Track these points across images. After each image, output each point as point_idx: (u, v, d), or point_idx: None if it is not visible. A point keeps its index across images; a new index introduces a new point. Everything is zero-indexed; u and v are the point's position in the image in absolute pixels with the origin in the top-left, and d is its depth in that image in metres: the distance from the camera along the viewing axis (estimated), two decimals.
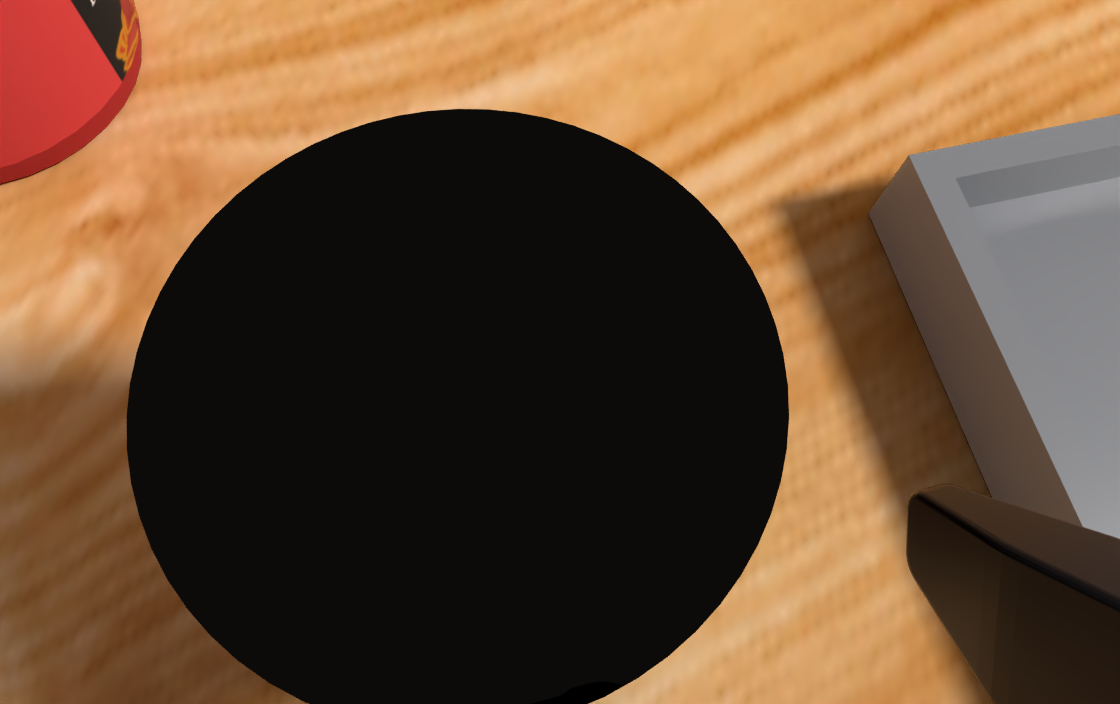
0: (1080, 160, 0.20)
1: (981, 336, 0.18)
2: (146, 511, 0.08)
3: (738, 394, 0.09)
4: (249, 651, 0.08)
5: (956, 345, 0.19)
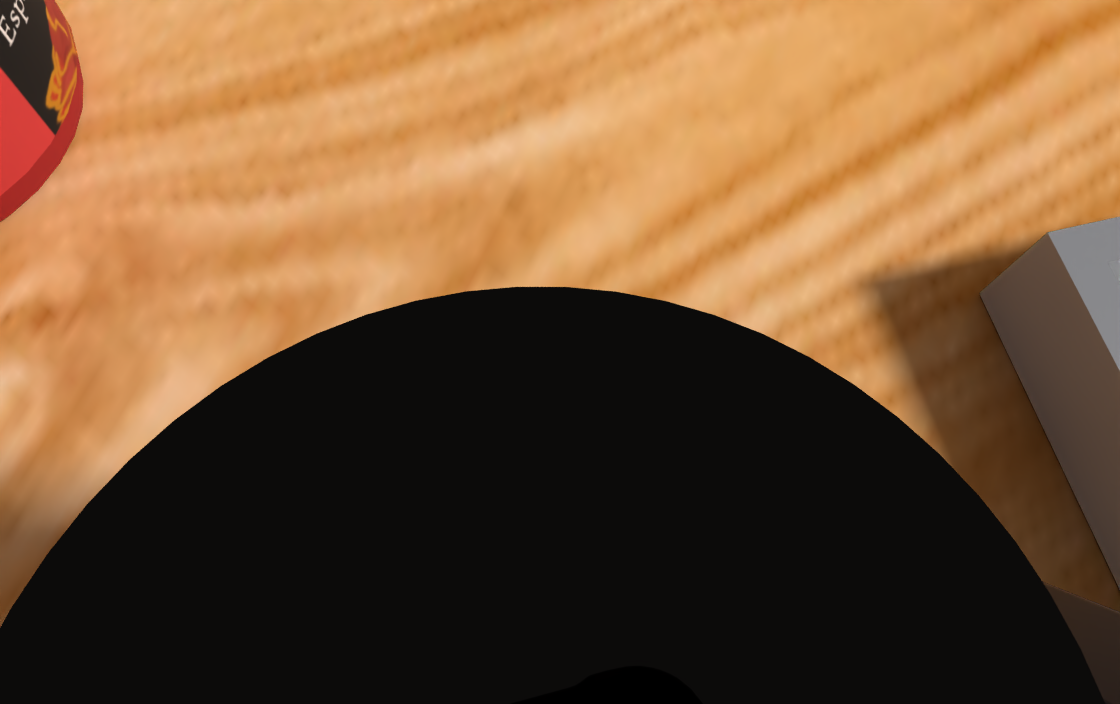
0: None
1: None
2: None
3: None
4: None
5: (1110, 474, 0.15)
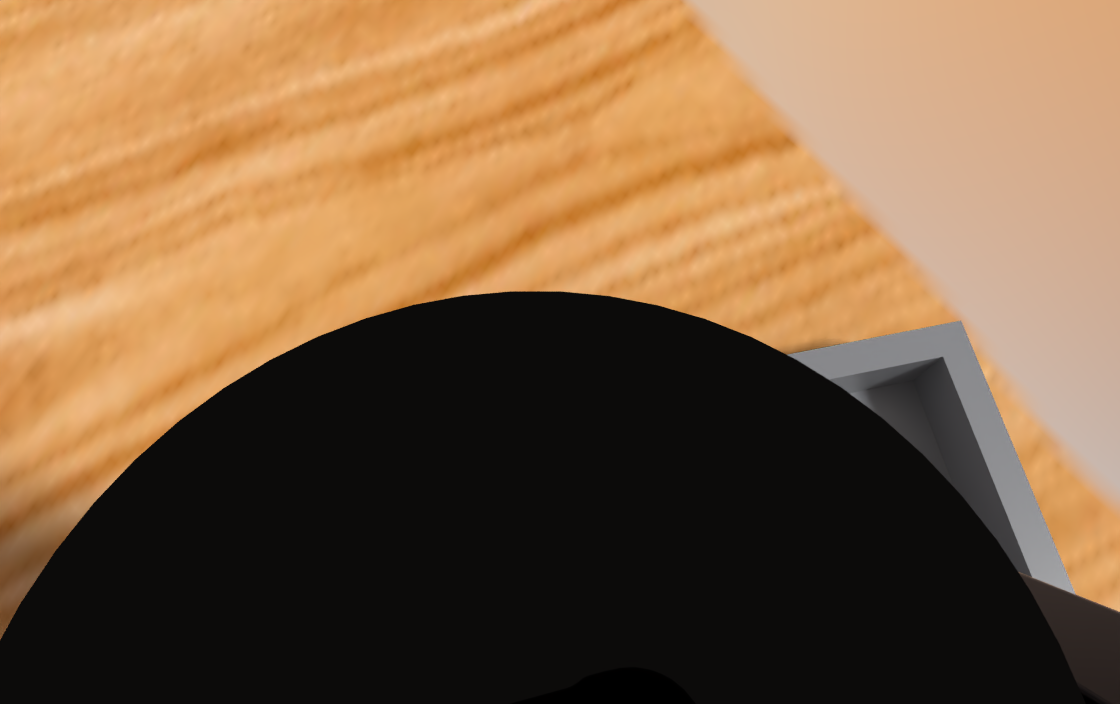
0: None
1: None
2: None
3: None
4: None
5: None
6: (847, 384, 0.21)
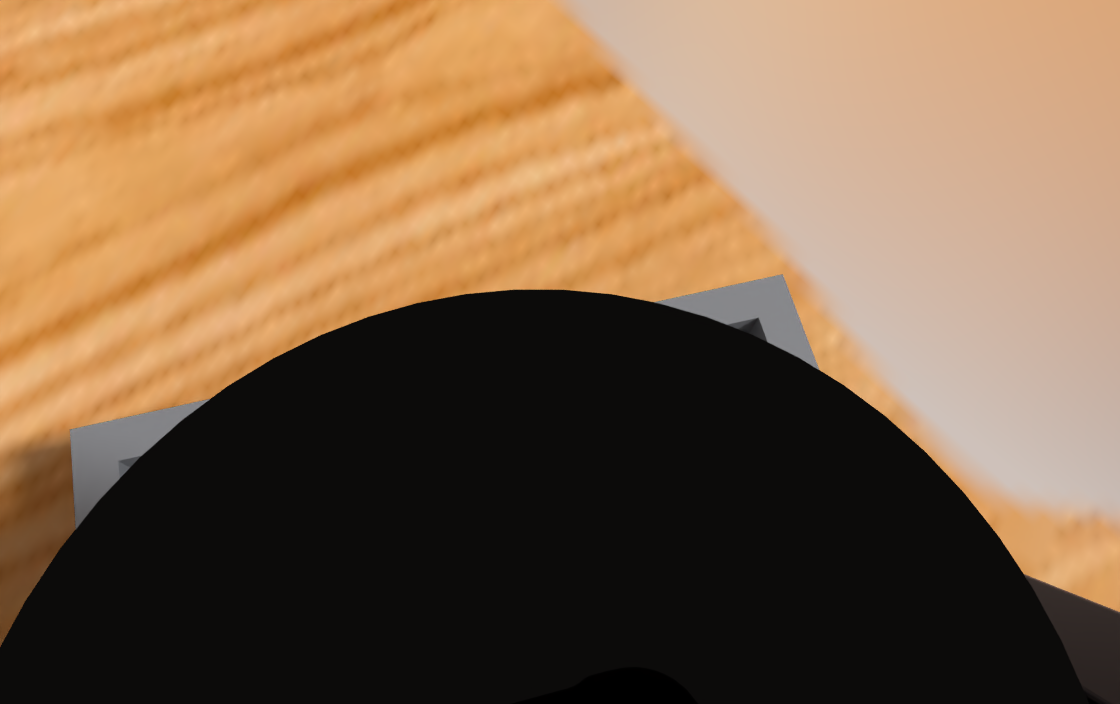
0: None
1: None
2: None
3: None
4: None
5: None
6: None
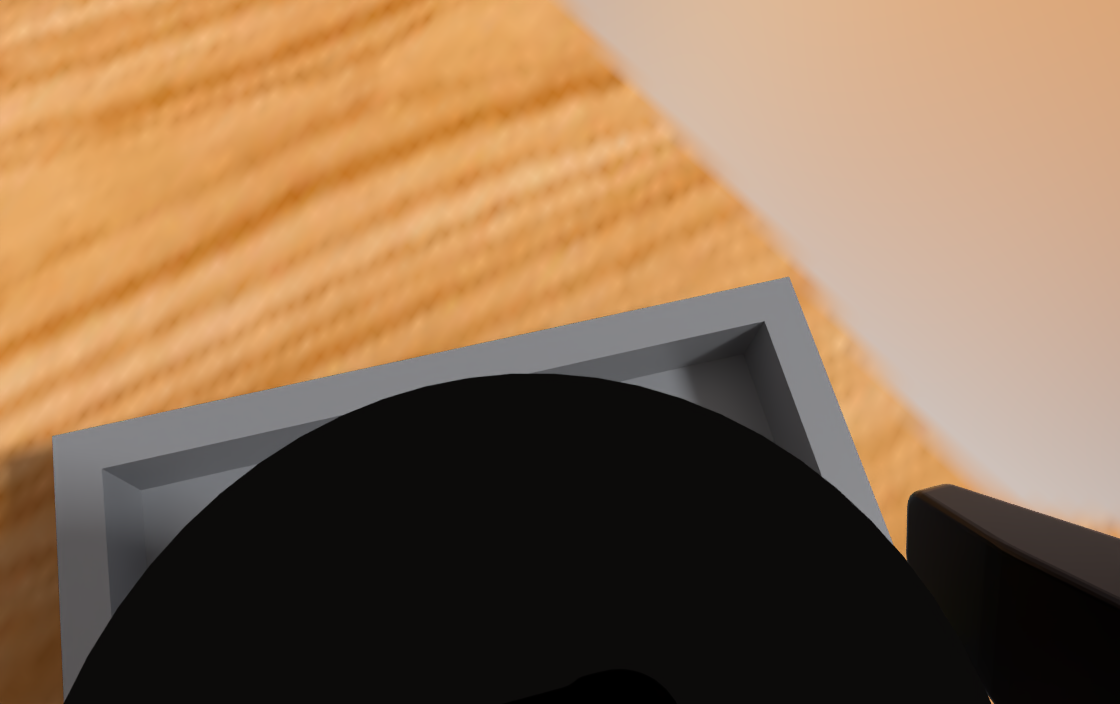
0: (302, 430, 0.16)
1: None
2: None
3: None
4: None
5: None
6: (652, 359, 0.17)
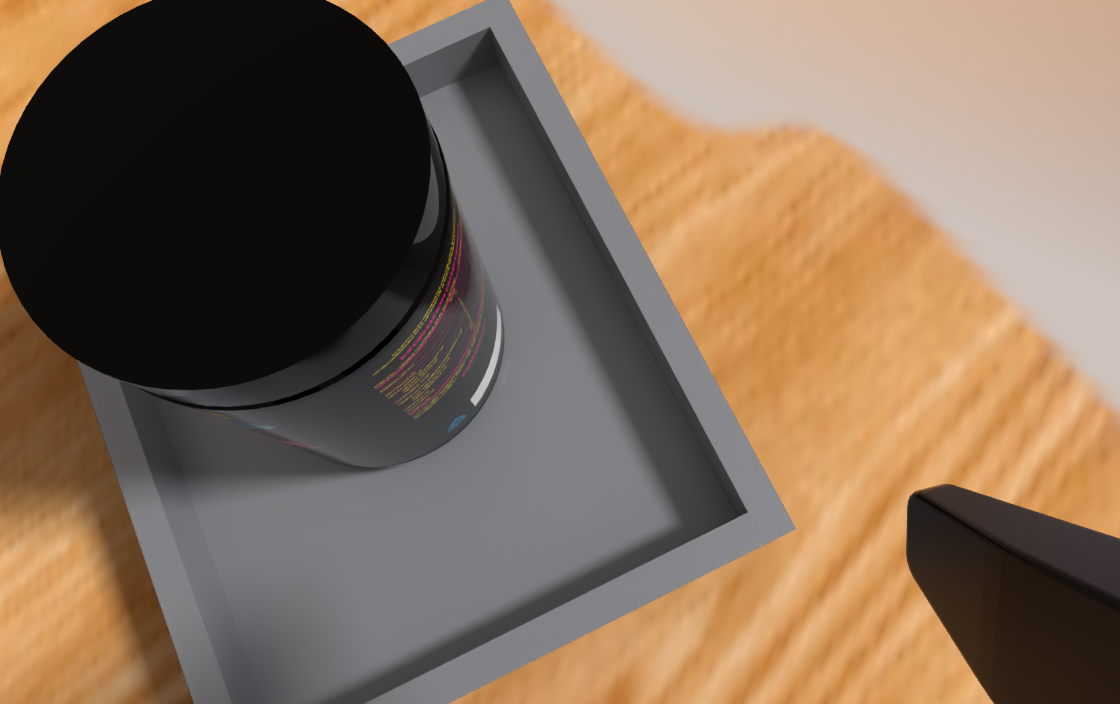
0: None
1: None
2: (25, 301, 0.13)
3: (396, 144, 0.13)
4: (107, 366, 0.12)
5: None
6: (423, 75, 0.24)
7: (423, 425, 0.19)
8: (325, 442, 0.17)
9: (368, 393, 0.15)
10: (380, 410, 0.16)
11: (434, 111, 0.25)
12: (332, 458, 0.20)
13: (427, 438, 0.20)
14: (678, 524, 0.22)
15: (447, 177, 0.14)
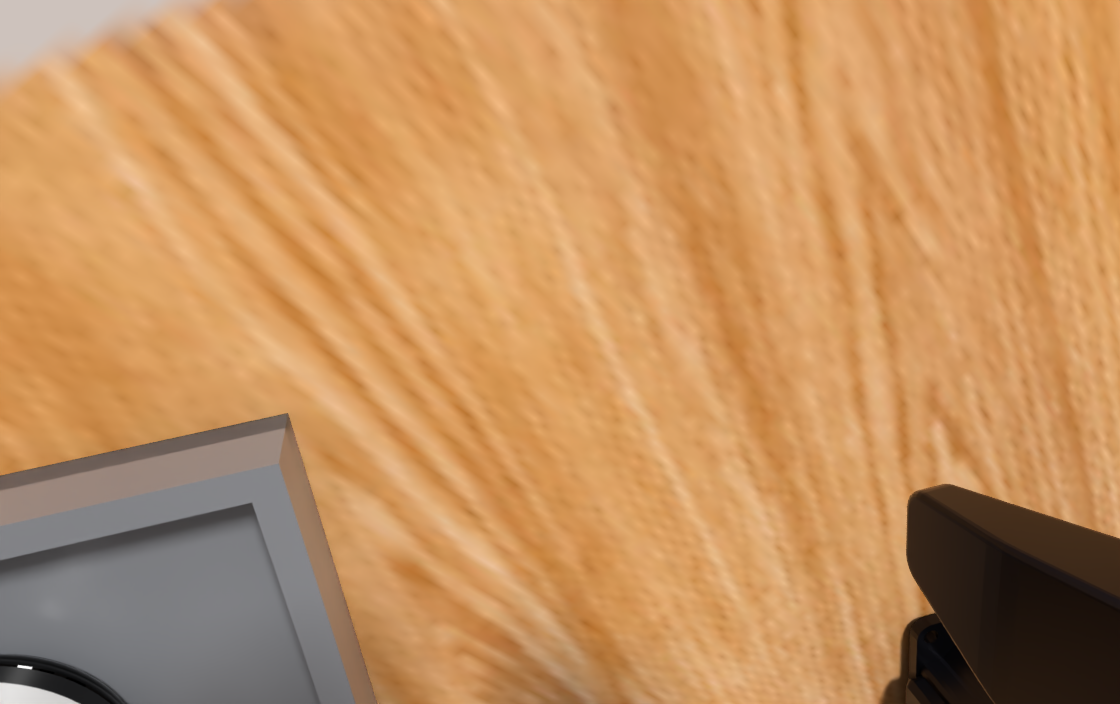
0: None
1: None
2: None
3: None
4: None
5: None
6: None
7: None
8: None
9: None
10: None
11: None
12: None
13: None
14: (256, 518, 0.21)
15: None
